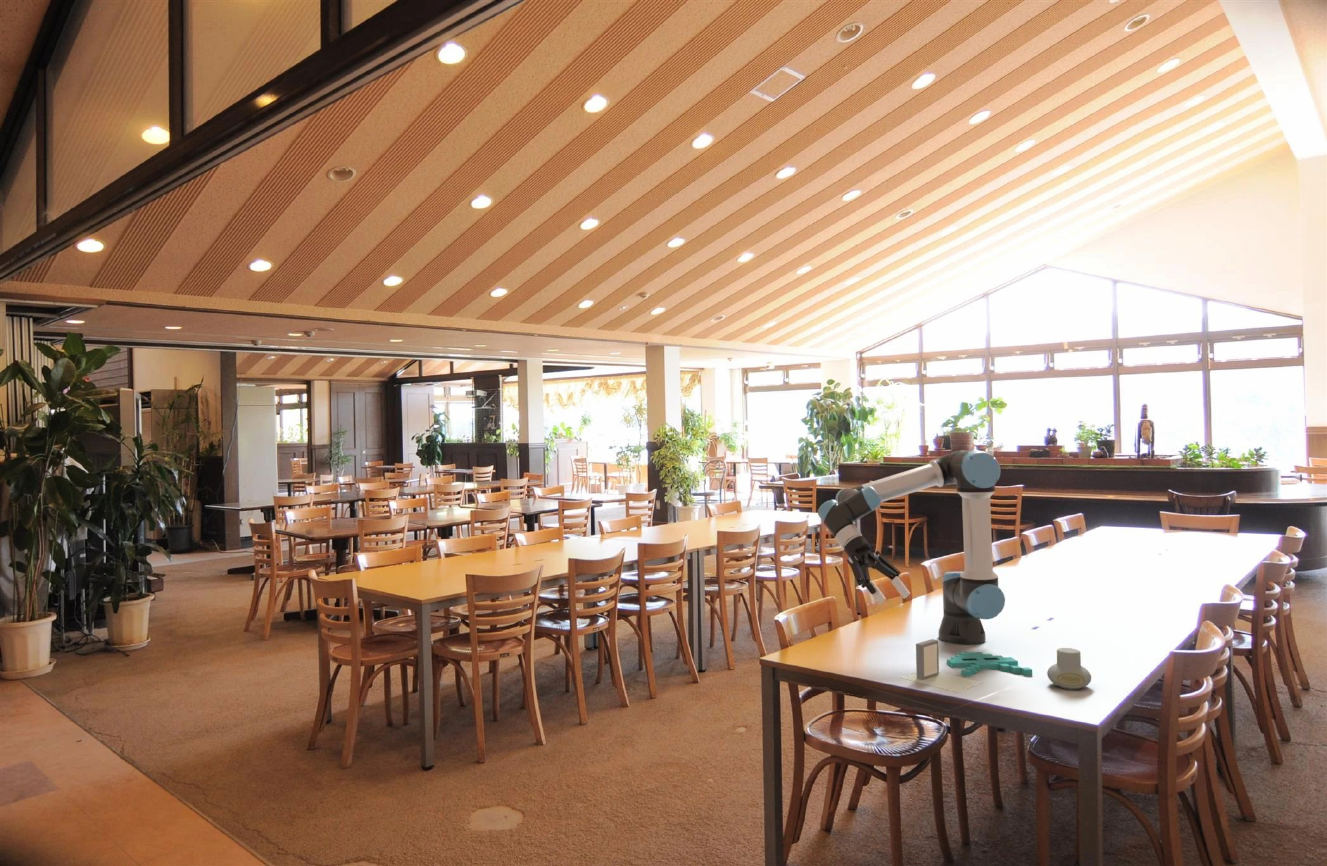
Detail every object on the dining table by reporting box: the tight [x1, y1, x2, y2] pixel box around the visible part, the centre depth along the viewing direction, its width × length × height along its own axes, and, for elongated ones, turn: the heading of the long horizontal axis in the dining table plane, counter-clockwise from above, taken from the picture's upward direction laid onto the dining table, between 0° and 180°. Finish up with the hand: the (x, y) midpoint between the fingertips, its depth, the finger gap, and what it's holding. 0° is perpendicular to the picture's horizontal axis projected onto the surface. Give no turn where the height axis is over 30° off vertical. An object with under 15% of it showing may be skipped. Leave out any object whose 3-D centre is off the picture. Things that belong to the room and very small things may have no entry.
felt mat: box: [900, 671, 983, 693], centre depth 234 cm, size 18×13×1 cm
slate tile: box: [915, 638, 940, 680], centre depth 237 cm, size 2×8×10 cm, turn 128°
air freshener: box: [1046, 647, 1092, 691], centre depth 227 cm, size 11×8×10 cm
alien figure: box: [946, 651, 1033, 677], centre depth 247 cm, size 20×2×20 cm
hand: (895, 598), depth 246 cm, fingers open, 11 cm apart
